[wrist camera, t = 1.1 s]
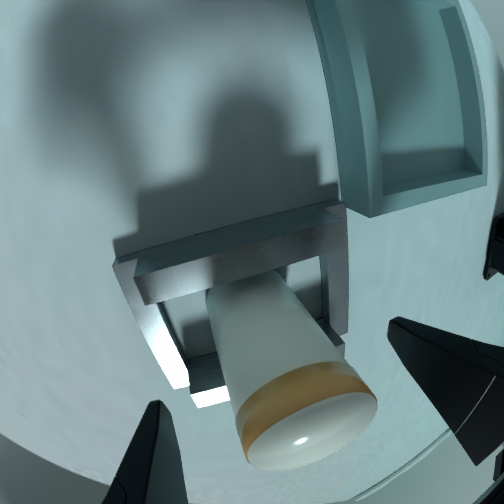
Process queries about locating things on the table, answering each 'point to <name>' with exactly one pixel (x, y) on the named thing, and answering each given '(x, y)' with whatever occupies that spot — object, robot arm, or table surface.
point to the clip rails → (231, 269)
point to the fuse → (284, 375)
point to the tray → (402, 100)
